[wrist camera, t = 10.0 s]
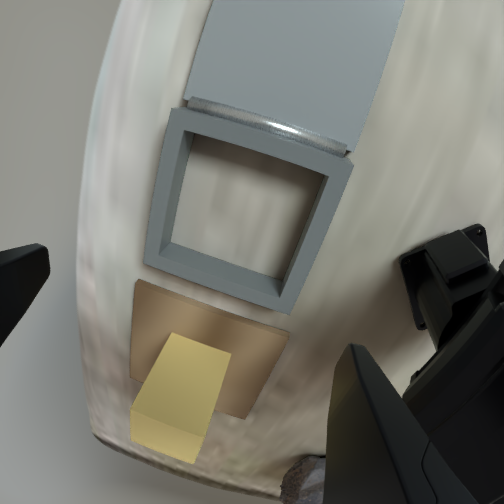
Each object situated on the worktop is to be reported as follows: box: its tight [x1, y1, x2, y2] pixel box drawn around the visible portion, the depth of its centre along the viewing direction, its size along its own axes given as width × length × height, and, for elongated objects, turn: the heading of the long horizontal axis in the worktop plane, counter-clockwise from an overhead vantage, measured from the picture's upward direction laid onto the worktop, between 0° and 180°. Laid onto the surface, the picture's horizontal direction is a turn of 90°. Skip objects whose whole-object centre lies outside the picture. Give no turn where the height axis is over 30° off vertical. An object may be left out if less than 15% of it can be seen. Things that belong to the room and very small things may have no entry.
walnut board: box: [130, 279, 290, 420], centre depth 26 cm, size 12×12×1 cm
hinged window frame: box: [143, 0, 405, 315], centre depth 16 cm, size 10×20×2 cm, turn 164°
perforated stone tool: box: [279, 456, 326, 504], centre depth 28 cm, size 15×5×7 cm, turn 78°
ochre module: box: [130, 333, 231, 464], centre depth 22 cm, size 5×5×8 cm
